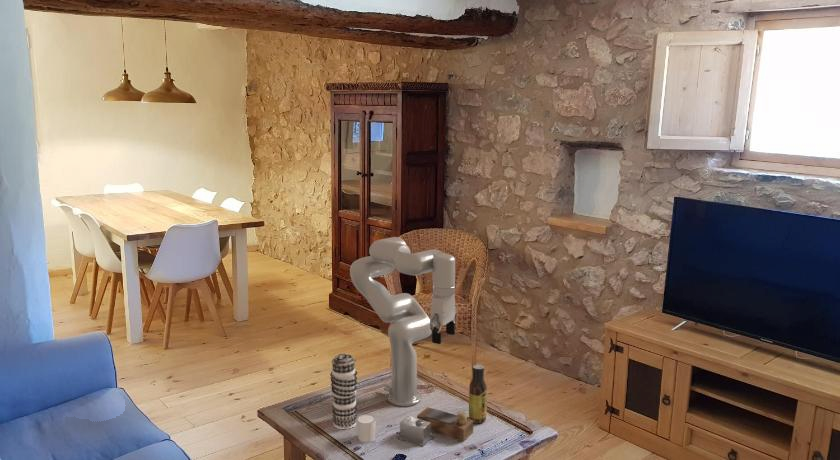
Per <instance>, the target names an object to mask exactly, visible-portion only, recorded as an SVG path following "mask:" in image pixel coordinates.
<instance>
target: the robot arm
mask: <svg viewBox="0 0 840 460" xmlns="http://www.w3.org/2000/svg"><path fill="white" fill-rule="evenodd" d="M368 251H369V252H368V253H369V256H363V257H361V258H358V259H356V260H354V261H353V262H352V263H351V265H350V268H349V275H350V279H351V282H352V284H353V286H354V287H355V288H356V290H357V291H358V292H359V293H360V294H361V295H362V296H363V297H364V298H365V300H366V301H368V303H369V305H370V307H371V308H372V309H373V310H374V312H375V313H376V314H377V316H378V317H379V318H380V320H381V321H382V322H383V323H388V324H389V326H388V329H387V333H388V338H389V344H390V352H391V353H390V355H391V356H390V362H391V383H389V382H385V383H384V388H383V390H384V391H386V392H389V393H388V395H387V401H388V402H389V403H390V404H392V405H393V406H397V407H410V406H412V407H413V406H415V405H417V404H419V403H420V402H421V400H422V394H421V393H420V392H419V391H418V356H417V355H418V354H417V351H416V349H415V348H414V347H413V343H415V342H418V341H422V340H423V339H426V338H428V337H430V336H431V342H432V343H433V344H437V345H440V344H442V332H441V330H442V327H444V326H445V333H446V334H447V335H452V336H454V335H455V334H456V318H457V312H458V308H457V307H456V297H455V296H456V258H455V256H453V254H450V253H444V252H443V251H440V250H439V249H428V250H424V251H418V252H414V253H411V249H410V247H409V246H408V245H407V243H406V241H405V240H404V239H403V238H401V237H399V236H392V237H386V238H382V239H381V238H380V239H377V240H376V241H374V242H372V243H371V245H370V246H369V250H368ZM395 269H396V270H397V271H398V272H399V273H400V274H404V275H409V276H420V275H424V274H427V273H429V274H430V273H432V298H431V304H430V314H429V315H430V317H429V315H428V314H427V313H426V311H425V310H424V308H423V307H422V306H421V305H420V303H419V302H418V300H417V299H416V298H415V297H414V296H413V295H411V294H410V293H407V292H404V293H403V292H402V293H398V294H391V293H390V292H389V290H388V289H387V288H386V286H385V285H383V284H382V283H381V282H379V281H377V280H375V279H373V278H378V277H382V276H386V275H389V274H391V273H393V271H394V270H395ZM390 323H391V324H390Z"/></svg>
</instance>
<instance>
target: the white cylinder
mask: <svg viewBox="0 0 840 460" xmlns="http://www.w3.org/2000/svg"><path fill="white" fill-rule="evenodd" d="M376 426H377V417H376V416H375V415H373V414H369V413H366V414H365V413H364V414H361V415H357V418H356V426H355V427H356V434H357V440H358V439H359V440H358V441H359V442H361V443H364V442H365V443H372V442H373V441H374V440H376V439H375V438H376Z"/></svg>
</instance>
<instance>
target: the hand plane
mask: <svg viewBox="0 0 840 460" xmlns="http://www.w3.org/2000/svg"><path fill="white" fill-rule="evenodd" d="M456 414H457V415H456ZM456 414H454V413H450V412H446V411H443V410H439V409H437V408H431V407H429V406H428V407H427V406H426V408H424V409H423V410H422V411H421V412H419V413H418V414H417V415H416V418H417V419H420V420H424V421H427V422H430V423H431V433H433V434H437V435H440V436H444V437H447V438H450V439H454V440H457V441H460V442H465V441H466V440H467V439H468V438H469V437H470V436H471V435H472V434H473V433H474V423H473V420H471V419H469V418H467V417H468V414H467V413H466V412H464V411H463V412H462V411H461V412H458V413H456Z"/></svg>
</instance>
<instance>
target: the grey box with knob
mask: <svg viewBox="0 0 840 460" xmlns="http://www.w3.org/2000/svg"><path fill="white" fill-rule="evenodd" d="M399 428H400V429H399V435H400V436H402V437H405V438H408V439H411V440H415V441H418V442H421V443H424V442H425V441H426V440H428V439H429V438H430V437H431V435H432V432H431V423H430V422H427V421H424V420H420V419H417V417H412V416H410V415H407V416H406V417H405V418H403V420H401V421H400V422H399Z"/></svg>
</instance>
